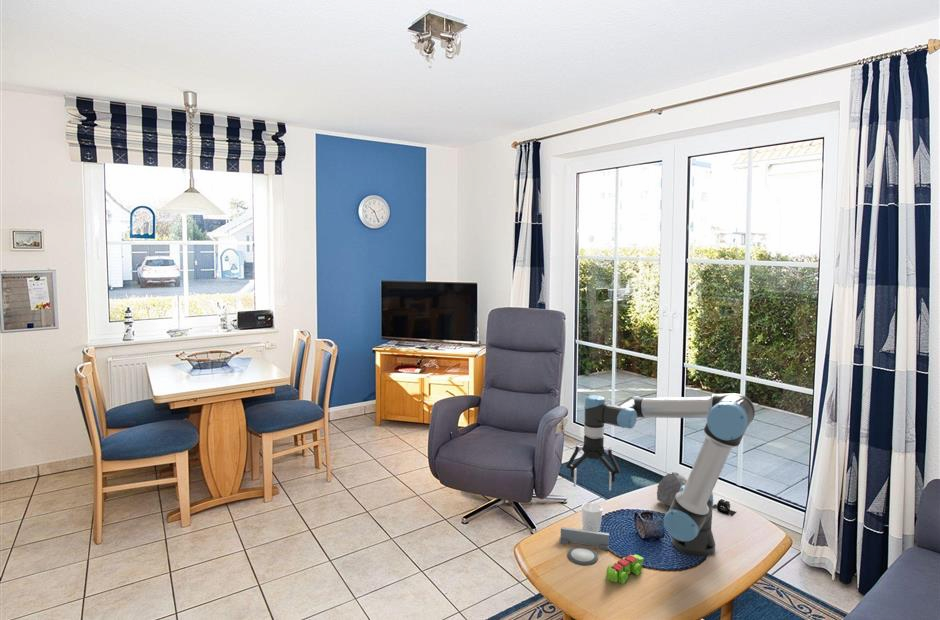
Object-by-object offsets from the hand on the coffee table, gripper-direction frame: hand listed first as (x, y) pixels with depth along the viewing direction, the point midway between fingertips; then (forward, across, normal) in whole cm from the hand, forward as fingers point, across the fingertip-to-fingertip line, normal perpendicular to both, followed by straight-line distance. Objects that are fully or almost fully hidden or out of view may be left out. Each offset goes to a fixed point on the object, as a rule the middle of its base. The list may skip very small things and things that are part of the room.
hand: (592, 487), depth 221 cm
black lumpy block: (+19, -54, -32) cm, 65 cm away
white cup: (+19, 0, 0) cm, 19 cm away
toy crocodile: (+19, -13, +26) cm, 35 cm away
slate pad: (+18, +2, +19) cm, 26 cm away
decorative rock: (+19, -34, -30) cm, 49 cm away
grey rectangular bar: (+18, +2, +10) cm, 21 cm away
